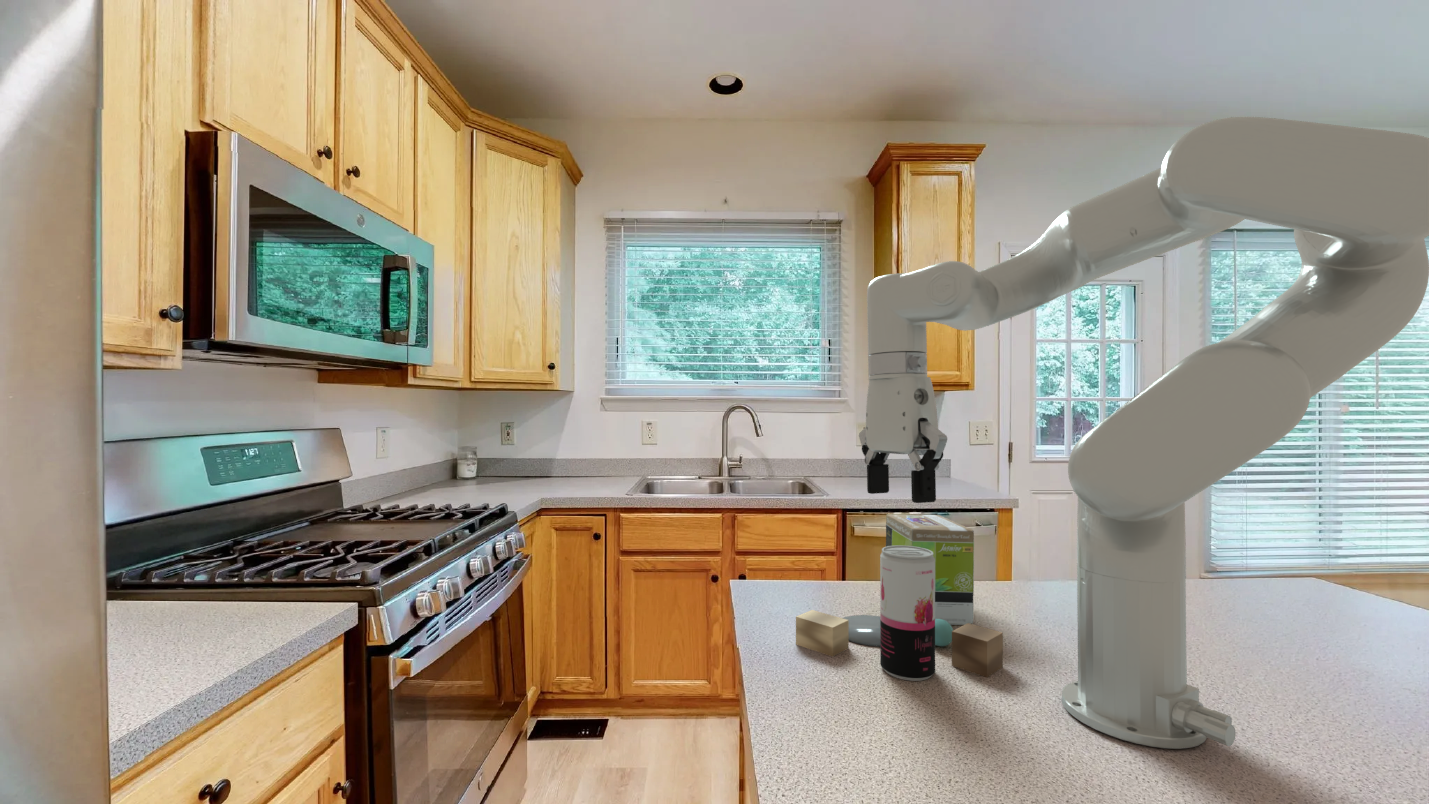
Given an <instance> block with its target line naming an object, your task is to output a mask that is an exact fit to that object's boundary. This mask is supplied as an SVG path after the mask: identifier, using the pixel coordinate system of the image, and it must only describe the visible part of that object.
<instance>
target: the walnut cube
mask: <svg viewBox="0 0 1429 804" xmlns="http://www.w3.org/2000/svg"><path fill="white" fill-rule="evenodd" d="M1003 636H1004V635H1003V632H1002V631H998V630H994V629H992V628H987V627H984V626H980V625H976V624H973V623H972V624H970V623H967V624H965V625H960V627H958V628H955V629H953V631H952V642H951V666H952V667H955V668H956V669H957V668H958V669H960V670H963V671H965V672H969V673H972V674H975V675H978V676H981V677H984V678H986V679H987V678H989V677H991V676H992V675H994V674H995V673H996V672H998V671H1000V670H1001V669H1003V667H1004V648H1003V647H1004V643H1003V642H1004V639H1003V638H1004V637H1003Z"/></svg>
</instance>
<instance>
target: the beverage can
mask: <svg viewBox="0 0 1429 804" xmlns="http://www.w3.org/2000/svg"><path fill="white" fill-rule="evenodd" d="M879 558H880V560H879V561H880V563H879V565H880V567H879V572H880V575H879V576H880V582H879V583H880V590H879V591H880V592H879V594H880V599H879V600H880V601H879V603H880V606H879V607H880V610H879V611H880V614H879V615H880V649H879V650H880V651H879V652H880V656H879V658H880V660H879V661H880V667H882V669H883V670H884V672H886V673H887V674H888V675H889V676H891V677H894V678H896V679H901V680H904V681H909V682H910V681H911V682H913V681H915V682H917V681H919V682H920V681H925V680H928V679H929V678H931V677H932V676H934V675H935V673H936V645H935V558H934V557H933V552H932V551H930V550H928V549H925V548H920V547H914V546H901V545H897V546H887V547H886V546H884V547H882V548H881V553H880V556H879Z"/></svg>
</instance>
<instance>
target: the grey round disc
mask: <svg viewBox="0 0 1429 804" xmlns="http://www.w3.org/2000/svg"><path fill="white" fill-rule="evenodd" d="M842 618H843V619H847V620H849V642H852V643H855V644H859V645H863V646H870V647H880V616H878V615H872V614H870V615H869V614H858V615H857V614H854V615H848V616H844V617H842Z"/></svg>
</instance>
